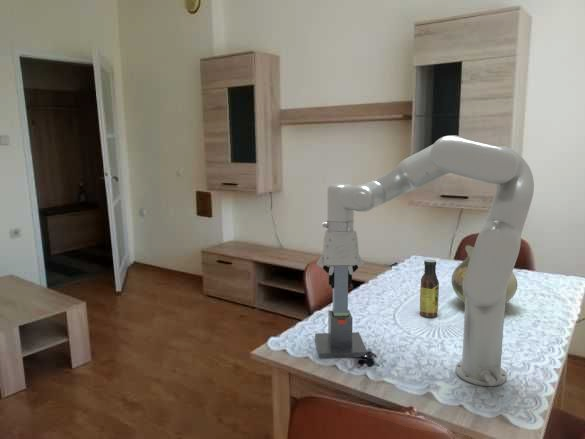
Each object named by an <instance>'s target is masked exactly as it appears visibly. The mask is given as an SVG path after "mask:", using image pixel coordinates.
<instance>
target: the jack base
mask: <svg viewBox="0 0 585 439" xmlns="http://www.w3.org/2000/svg"><path fill="white" fill-rule="evenodd" d="M327 314H328V317H327V319H328V320H327V321H328V325H327V326H328V327H327V328H328V330H327V333H326V332H325V333H323V332H322V333H321V332H320V333H319V332H318V333H314V338H315V339H314V340H315V346H316V349H317V350H316V351H317V354H318V355H317V356H318V358H319V359H339V358H341V359H342V358H346V359H347V358H362V357H361V356H365V355H366V353H367V354H368V350H367V349H366V348H367V347H366V346H365V343H364V340H363V339H362V336H361V334H360V331H359V332H357V331H356V332H354V331H353V316H352V314H351V311H350V310H349V309H348V317H333V312H332V310H328V313H327Z"/></svg>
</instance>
